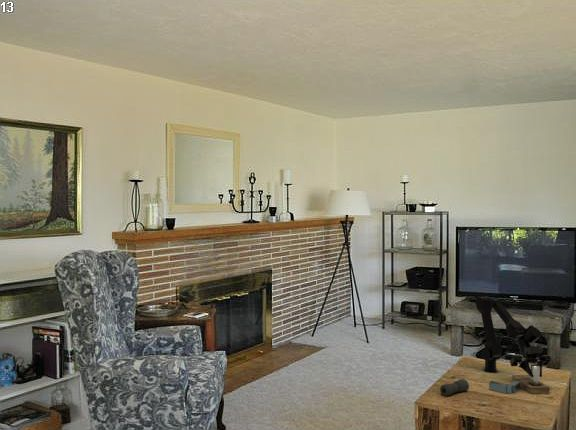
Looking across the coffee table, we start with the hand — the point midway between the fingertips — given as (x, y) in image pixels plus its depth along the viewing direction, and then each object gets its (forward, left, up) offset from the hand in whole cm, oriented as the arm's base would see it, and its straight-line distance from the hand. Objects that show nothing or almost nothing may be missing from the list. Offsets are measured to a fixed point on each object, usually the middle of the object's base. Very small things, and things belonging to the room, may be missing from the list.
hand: (536, 376), depth 268 cm
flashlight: (+14, -37, -7) cm, 40 cm away
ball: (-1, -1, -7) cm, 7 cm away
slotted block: (-6, -2, -7) cm, 9 cm away
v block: (+3, -13, -7) cm, 16 cm away
